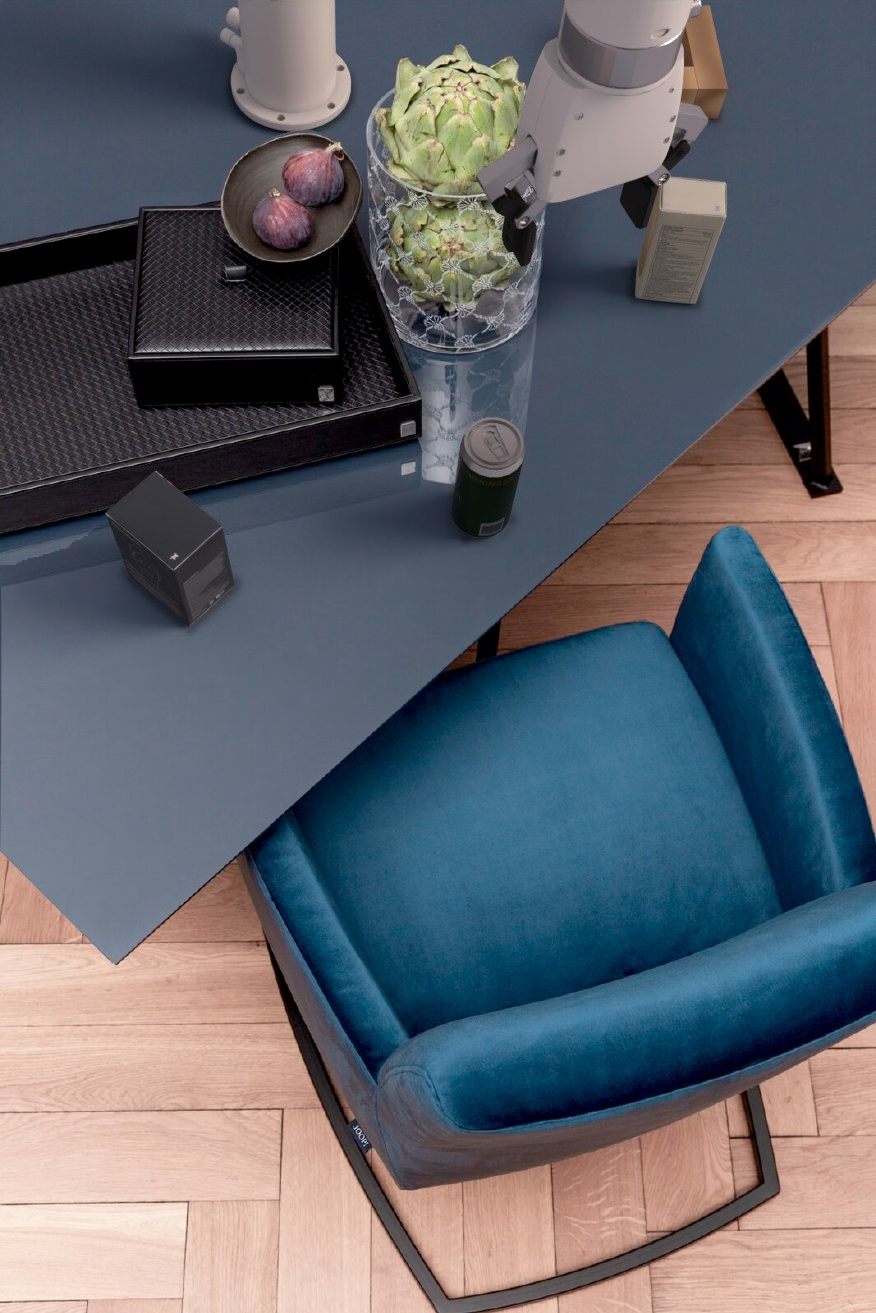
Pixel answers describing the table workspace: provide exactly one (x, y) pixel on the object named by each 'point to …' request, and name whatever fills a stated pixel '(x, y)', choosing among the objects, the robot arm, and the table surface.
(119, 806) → the table surface
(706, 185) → the cosmetic box
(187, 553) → the box
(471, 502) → the beer can
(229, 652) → the table surface
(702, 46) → the holder
